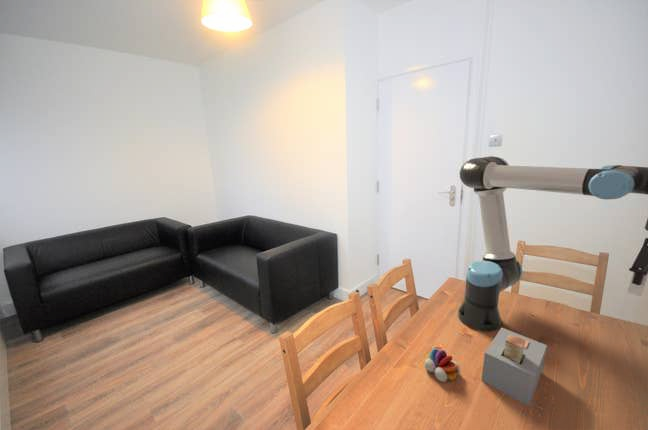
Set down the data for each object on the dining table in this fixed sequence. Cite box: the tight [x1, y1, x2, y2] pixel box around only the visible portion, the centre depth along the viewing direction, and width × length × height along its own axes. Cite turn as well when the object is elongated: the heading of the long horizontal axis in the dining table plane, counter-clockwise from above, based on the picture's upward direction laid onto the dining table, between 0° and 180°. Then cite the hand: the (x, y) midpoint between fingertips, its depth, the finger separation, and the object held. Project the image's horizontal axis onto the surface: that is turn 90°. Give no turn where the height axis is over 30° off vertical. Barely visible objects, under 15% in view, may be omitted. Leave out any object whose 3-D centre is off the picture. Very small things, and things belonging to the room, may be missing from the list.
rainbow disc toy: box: [424, 348, 461, 383], centre depth 86 cm, size 8×10×7 cm
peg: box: [503, 334, 526, 364], centre depth 80 cm, size 4×4×9 cm
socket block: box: [480, 326, 548, 407], centre depth 83 cm, size 12×16×10 cm
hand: (646, 288), depth 80 cm, fingers open, 13 cm apart
